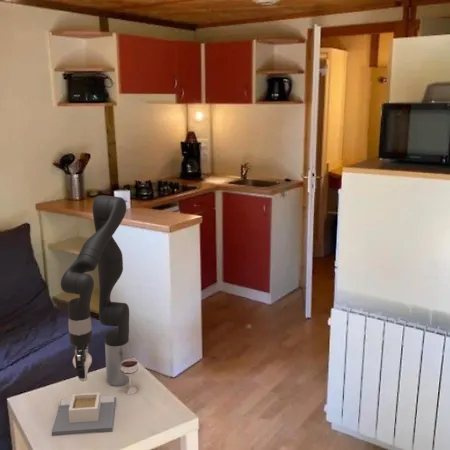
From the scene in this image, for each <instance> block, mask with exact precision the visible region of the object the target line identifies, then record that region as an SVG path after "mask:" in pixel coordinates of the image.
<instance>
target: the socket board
mask: <svg viewBox="0 0 450 450" xmlns="http://www.w3.org/2000/svg"><path fill="white" fill-rule="evenodd" d="M95 398H96V402H95V407H86V408H74V407H75V403H76V400H79V399H95ZM116 403H117V397H116V396H115V395H114V396H113V395H112V396H101V393H100V392H88V393H85V392H83V393H73V394H72V395H71V398H65V399H61V400H60V402H59V406H58V408H57V413H56V416H55V420H54V421H53V422H54V423H53V427H52V430H51V436H67V435H69V436H70V435H80V434H82V435H83V434H93V433H94V434H95V433H108V432H110V433H111V432H113V430H114V421H115V411H116V405H117V404H116Z"/></svg>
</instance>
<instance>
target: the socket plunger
mask: <svg viewBox="0 0 450 450" xmlns="http://www.w3.org/2000/svg"><path fill="white" fill-rule="evenodd" d="M95 402H96V398H95V399H79V400H76V403H75V407H74V408H86V407H95Z"/></svg>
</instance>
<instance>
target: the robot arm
mask: <svg viewBox="0 0 450 450" xmlns="http://www.w3.org/2000/svg"><path fill="white" fill-rule="evenodd" d="M126 214H127V203H126V200H125V199H124V198H123V197H120V196H112V195H97V196H96V197H95V198H94V200H93V203H92V216H93V223H94V230H95V233H93V234H92V235H91V236H90V237H89V238H87V240H86V241H85V242H84V243H83V245H82V247H81V248H80V251H79V254H78V256H77V258H76V259H75V260H74V261H73V263H72V264H71V265H70V266H69V267H68V269H66V271H65V272H64V273H63V275H62V278H61V279H60V280H61V281H60V288H61V290H62V291H63V292H64V293H67V294H74V295H79V297H76V298H72V299H70V300H69V301H68V304H67V311H68V312H67V313H68V336H69V343H70V344H71V345H72V346H74V347H75V348H74V356H75V363H76V368H75V370H76V371H77V377H78V380H79V379H82V378H85V361H86V353H87V352H88V353H89V344H90V343H92V341H93V328H92V327H93V326H92V317H91V306H90V305H91V299H92V295H93V291H94V287H95V282H94V281H95V280H94V277H92V275H90V274H88V272H93V271H95V269H96V268H97V271H98V287H99V288H98V289H99V291H98V293H99V299H98V320H99V323H100V324H101V325H103V326H107V327H117V328H116V329H112V330H110V331H107V333H105V335H104V349H105V352H104V353H105V369H106V370H105V372H106V373H105V374H106V382H107V384H108V385H110V386H114V387H119V386H124V385H126V384H129V377H128V376H125V375H124V374H123V373H122V372H121V369H120V368H121V364H120V363H121V361H123V360H125V359H129V358H130V338H129V337H130V336H129V335H130V308H129V305H128V304H127V302H126V303H125V302H119V301H111V294H112V291H113V289H114V287H115V285H116V284H117V282H118V281H119V279H120V278H121V276H122V274H123V271H124V263H123V260H124V259H123V257H124V256H123V252H122V250H121V248H120V247H119V244H118V243H117V242H116V240H115V239H114V234H115V232H116V231H117V230H118V228H119V226H120V225H121V223H122V221H123V220H124V218H125V216H126ZM75 354H76V355H75ZM83 358H84V359H83Z"/></svg>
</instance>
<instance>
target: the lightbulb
mask: <svg viewBox="0 0 450 450" xmlns="http://www.w3.org/2000/svg"><path fill="white" fill-rule="evenodd" d="M75 355H76V354H75V353H74V356H73V358H72V364H73V367H74V368H75V369H76V363H75ZM83 359H84V358H83ZM92 362H93V358H92V355H91V354H90V353H89V351H88V352H87V353H86V361H85V378H82V379H79V378H78V380H79V381H80V382H85V381H87V380H88V373H89V372H88V371H89V368H90V367H91V365H92Z"/></svg>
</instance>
